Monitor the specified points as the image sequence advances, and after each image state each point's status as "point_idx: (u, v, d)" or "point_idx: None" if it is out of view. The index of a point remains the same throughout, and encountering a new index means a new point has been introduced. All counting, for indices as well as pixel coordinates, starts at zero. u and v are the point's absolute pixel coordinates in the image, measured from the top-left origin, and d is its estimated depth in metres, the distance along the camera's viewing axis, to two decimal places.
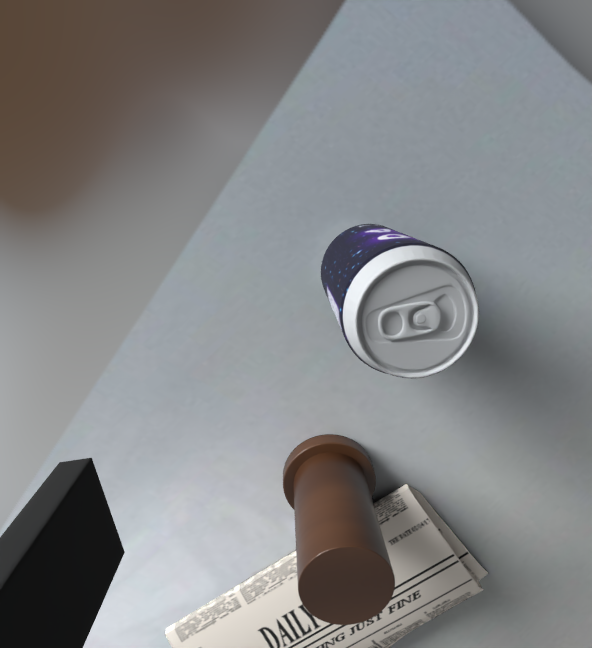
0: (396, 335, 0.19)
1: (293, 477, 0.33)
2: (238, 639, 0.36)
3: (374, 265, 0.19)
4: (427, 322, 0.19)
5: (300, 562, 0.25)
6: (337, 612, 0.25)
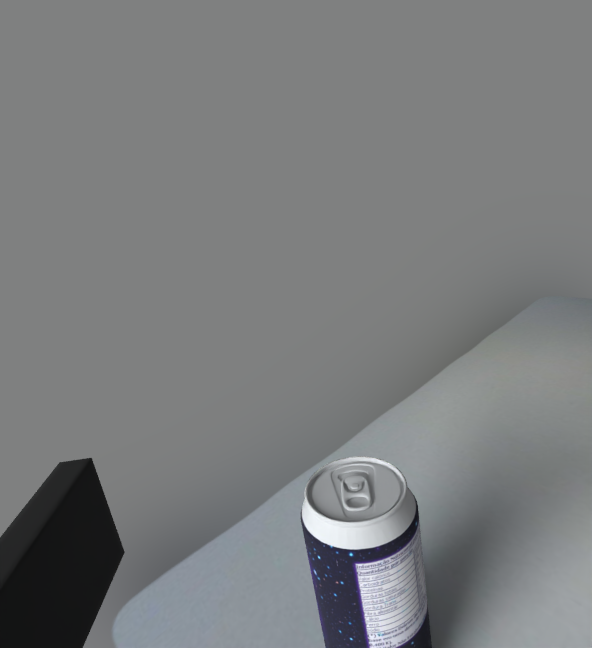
0: (367, 498, 0.22)
1: None
2: None
3: (310, 523, 0.22)
4: (359, 484, 0.23)
5: None
6: None
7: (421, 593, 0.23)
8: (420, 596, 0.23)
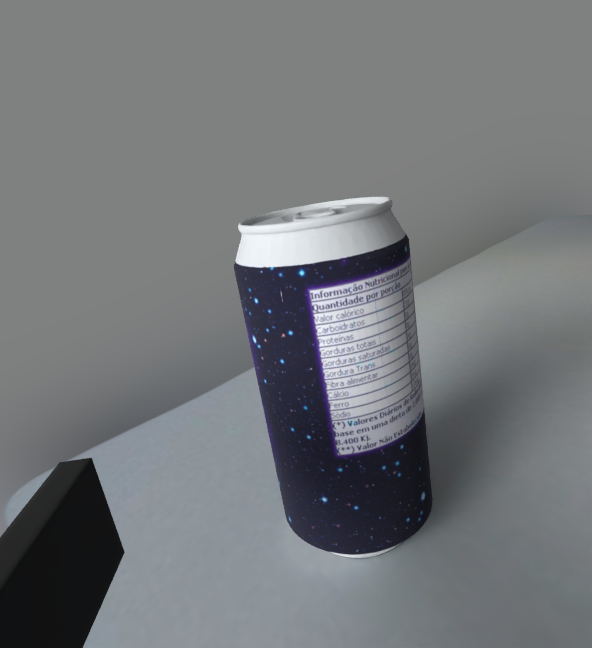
0: (331, 214, 0.14)
1: None
2: None
3: (244, 252, 0.14)
4: None
5: None
6: None
7: (414, 372, 0.15)
8: (413, 376, 0.15)
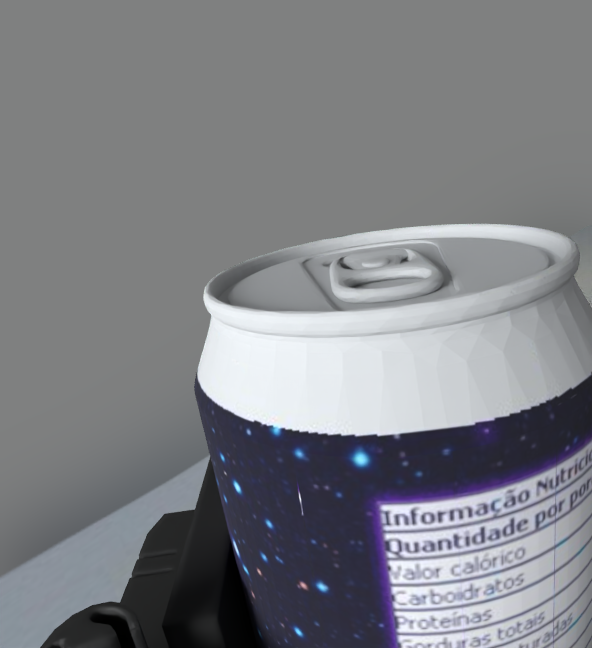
0: (426, 274, 0.06)
1: None
2: None
3: (211, 362, 0.06)
4: (390, 264, 0.07)
5: None
6: None
7: None
8: None
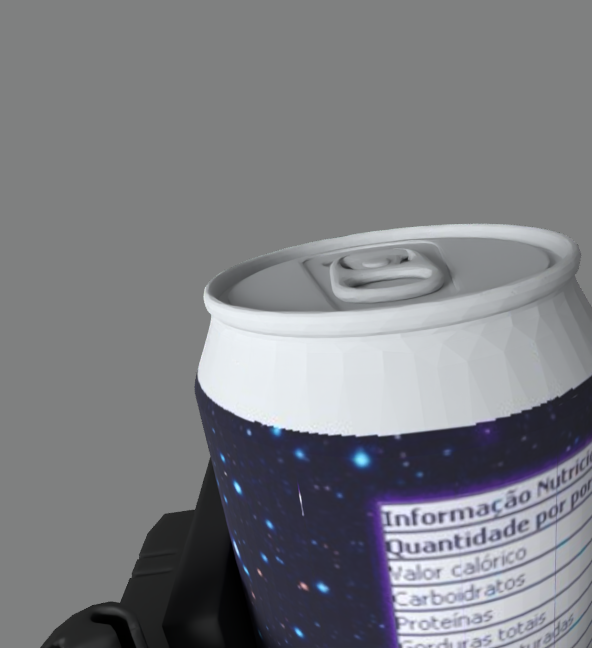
0: (426, 274, 0.06)
1: None
2: None
3: (211, 363, 0.06)
4: None
5: None
6: None
7: None
8: None
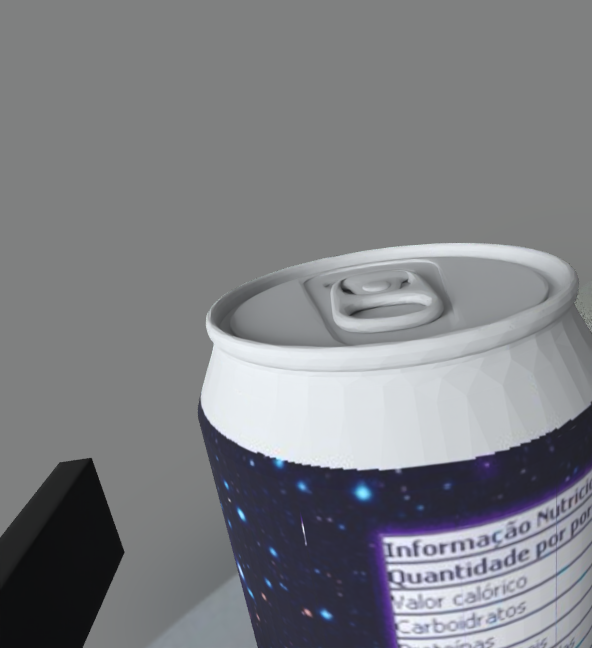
0: (426, 300, 0.06)
1: None
2: None
3: (214, 390, 0.06)
4: (390, 286, 0.07)
5: None
6: None
7: None
8: None
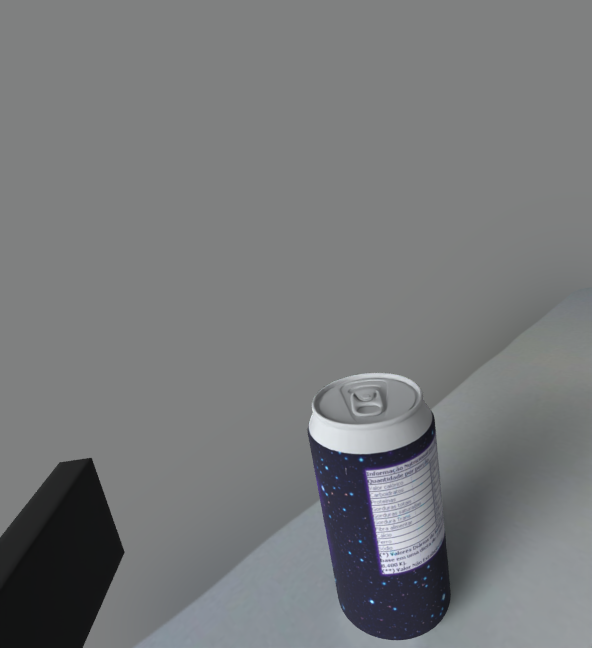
0: (379, 406, 0.20)
1: None
2: None
3: (317, 432, 0.21)
4: (370, 395, 0.22)
5: None
6: None
7: (438, 513, 0.21)
8: (437, 516, 0.21)
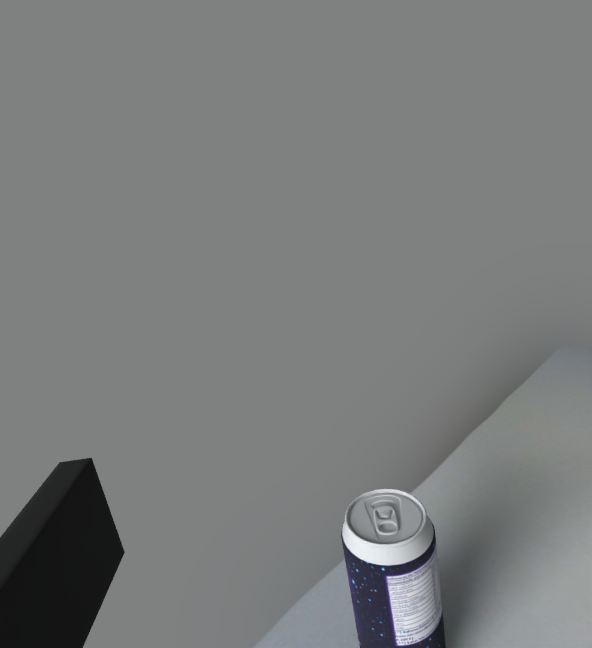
0: (395, 525, 0.28)
1: None
2: None
3: (350, 543, 0.28)
4: (388, 512, 0.30)
5: None
6: None
7: (437, 600, 0.29)
8: (436, 602, 0.29)
